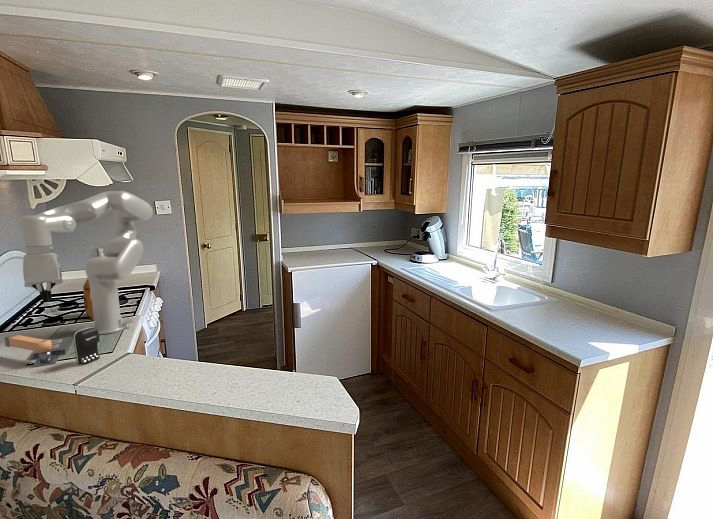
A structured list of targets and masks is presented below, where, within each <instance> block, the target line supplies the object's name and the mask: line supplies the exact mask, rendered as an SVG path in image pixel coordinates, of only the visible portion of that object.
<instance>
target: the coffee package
mask: <svg viewBox="0 0 713 519" xmlns="http://www.w3.org/2000/svg"><path fill="white" fill-rule="evenodd" d="M82 286H83V287H82V289H83V290H82V292H83V294H82V296H83V306H84V309H85V315H87V316H88V317H89V318H91V319H92V320H94V315H93V306H92V297H91V289H90V284H89V280H88V278H86V280H85V282H84V284H83V285H82Z"/></svg>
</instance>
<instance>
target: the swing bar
mask: <svg viewBox="0 0 713 519" xmlns="http://www.w3.org/2000/svg"><path fill="white" fill-rule="evenodd" d="M51 340H52V339H42V338H37V337H31V336H26V335H20V334H18V333H14V334H11V335H7V336H4V343H5V347H7V348H10V347H13V348H17V349H18V348H19V349H22V350H23V349H24V350H28V351H33V352H35V351H37V352H38V353H41V352H47V351H50V350H52V344H51Z"/></svg>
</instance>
